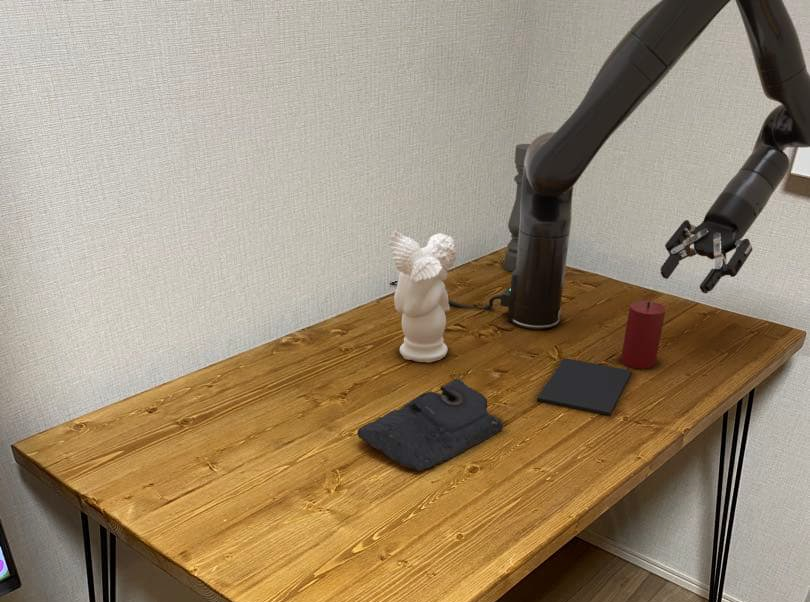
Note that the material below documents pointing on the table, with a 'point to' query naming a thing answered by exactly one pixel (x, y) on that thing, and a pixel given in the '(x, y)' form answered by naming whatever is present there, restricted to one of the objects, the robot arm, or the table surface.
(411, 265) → the cherub figurine
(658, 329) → the candle
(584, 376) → the mat
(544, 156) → the robot arm
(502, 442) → the table surface
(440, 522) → the table surface
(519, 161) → the candle holder
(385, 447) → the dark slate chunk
